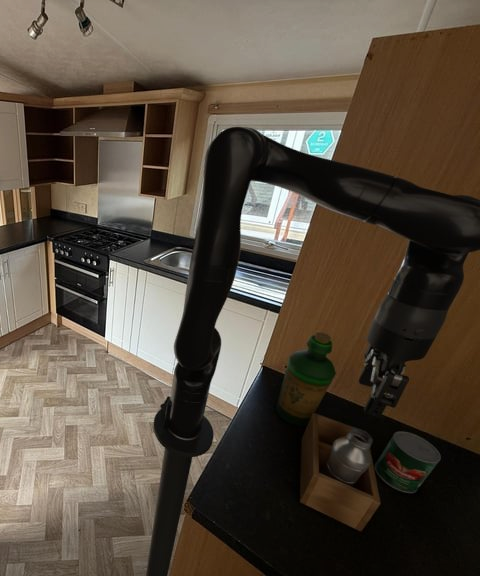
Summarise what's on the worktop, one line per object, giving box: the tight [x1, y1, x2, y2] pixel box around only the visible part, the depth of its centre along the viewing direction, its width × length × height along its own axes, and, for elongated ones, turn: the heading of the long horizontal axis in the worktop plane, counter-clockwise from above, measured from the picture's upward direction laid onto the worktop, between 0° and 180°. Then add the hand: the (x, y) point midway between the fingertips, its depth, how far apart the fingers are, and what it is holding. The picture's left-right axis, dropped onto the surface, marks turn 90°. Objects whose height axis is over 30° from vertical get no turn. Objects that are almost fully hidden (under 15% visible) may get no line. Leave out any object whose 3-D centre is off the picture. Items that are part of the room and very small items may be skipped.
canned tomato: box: [374, 430, 442, 494], centre depth 72 cm, size 8×8×11 cm
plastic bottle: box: [320, 427, 374, 487], centre depth 66 cm, size 6×7×20 cm
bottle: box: [276, 332, 337, 427], centre depth 85 cm, size 11×11×28 cm
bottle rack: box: [299, 412, 382, 532], centre depth 72 cm, size 11×19×10 cm, turn 148°
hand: (368, 398), depth 57 cm, fingers open, 8 cm apart
